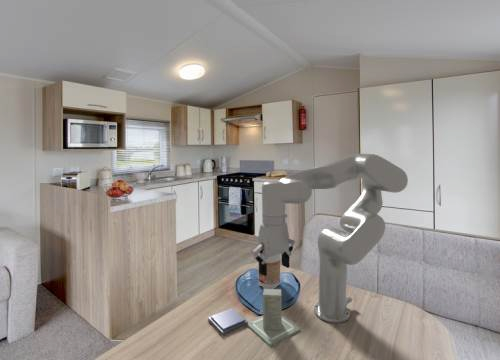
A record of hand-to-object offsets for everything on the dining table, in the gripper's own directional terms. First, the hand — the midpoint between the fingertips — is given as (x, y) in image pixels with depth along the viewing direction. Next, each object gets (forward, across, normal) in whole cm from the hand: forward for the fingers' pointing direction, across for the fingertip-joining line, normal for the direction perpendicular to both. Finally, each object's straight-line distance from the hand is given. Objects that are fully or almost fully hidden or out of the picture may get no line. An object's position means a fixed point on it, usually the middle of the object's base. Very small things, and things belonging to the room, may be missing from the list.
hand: (274, 270), depth 93 cm
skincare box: (+20, +1, 0) cm, 20 cm away
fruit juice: (+20, -17, -24) cm, 36 cm away
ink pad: (+20, +12, -11) cm, 26 cm away
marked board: (+20, +1, 0) cm, 20 cm away
